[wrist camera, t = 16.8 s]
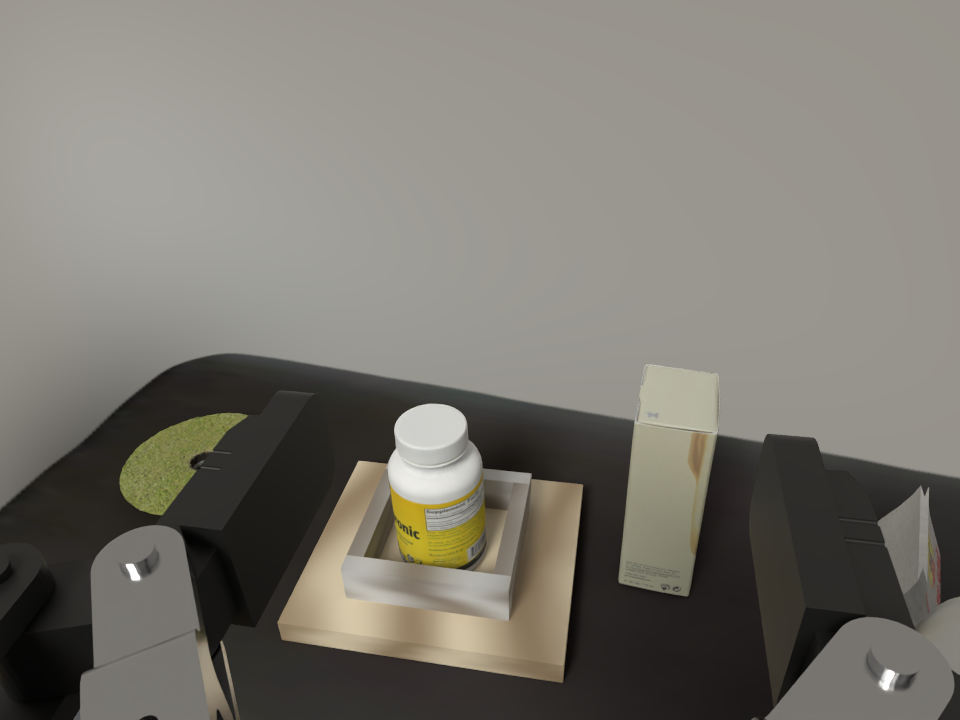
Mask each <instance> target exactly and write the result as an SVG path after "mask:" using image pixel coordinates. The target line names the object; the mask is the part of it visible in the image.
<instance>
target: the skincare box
mask: <svg viewBox="0 0 960 720" xmlns="http://www.w3.org/2000/svg"><path fill="white" fill-rule="evenodd" d="M719 418H720V388H719V375H718V374H716V373H708V372H701V371H693V370H687V369H679V368H672V367H665V366H658V365H651V364H648V365H645V367H644V372H643V377H642V382H641V387H640V393H639V399H638V405H637V411H636V417H635V423H634V432H633V441H632V450H631V460H630V470H629V480H628V490H627V500H626V510H625V520H624V530H623V541H622V549H621V559H620V568H619V578H618V582H619V583H621V584H626V585H630V586H635V587H639V588H644V589H648V590H653V591H658V592H663V593H669V594H674V595H680V596H688V595H689V592H690V587H691V582H692V576H693V569H694V563H695V557H696V552H697V546H698V540H699V535H700V529H701V523H702V517H703V512H704V506H705V500H706V494H707V489H708V483H709V477H710V472H711V466H712V461H713V455H714V450H715V444H716V440H717V435H718V428H719Z"/></svg>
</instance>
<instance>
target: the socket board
mask: <svg viewBox="0 0 960 720" xmlns="http://www.w3.org/2000/svg"><path fill="white" fill-rule="evenodd" d="M388 464H389V462H388ZM388 464H384V463H374V462H365V461H359V462H358V464H357V466H356V468H355V470H354V472H353V474H352V476H351V478H350V479H349V481H348V483H347V485H346V487H345V489H344V491H343V493H342V495H341V497H340V499H339V501H338V503H337V505H336V507H335V509H334V511H333V513H332V515H331V517H330V519H329V521H328V523H327V525H326V527H325V529H324V531H323V533H322V535H321V537H320V539H319V541H318V543H317V545H316V547H315V549H314V551H313V553H312V555H311V557H310V559H309V561H308V563H307V565H306V567H305V569H304V571H303V573H302V575H301V577H300V579H299V581H298V583H297V585H296V587H295V589H294V591H293V593H292V595H291V597H290V599H289V601H288V603H287V605H286V607H285V609H284V611H283V613H282V615H281V617H280V619H279V621H278V627H279V630H280V634H281V637H282V640H287V641H293V642H300V643H306V644H313V645H319V646H326V647H332V648H339V649H345V650H352V651H358V652H365V653H371V654H378V655H384V656H391V657H397V658H404V659H410V660H417V661H423V662H430V663H436V664H443V665H449V666H456V667H462V668H469V669H475V670H482V671H488V672H495V673H501V674H508V675H514V676H521V677H527V678H534V679H540V680H547V681H553V682H560V683H563V678H564V669H565V659H566V649H567V640H568V630H569V621H570V611H571V602H572V592H573V582H574V573H575V563H576V554H577V544H578V535H579V525H580V515H581V506H582V493H583V485H582V484H573V483H563V482H554V481H544V480H535V479H531V478H532V474H530V473H521V472H511V471H502V470H492V469H483V483H484V503H485V520H486V539H487V543H486V551H485V554H484V557H483V558H482V560H481V562H480V563H479V564H478V565H477V566H476V567H475V568H474V569H473V570H472V571H467V570H459V569H451V568H444V567H436V566H428V565H420V564H413V563H405V562H403V561H402V558H401V555H400V551H399V546H398V539H397V532H396V525H395V519H394V512H393V505H392V498H391V492H390V486H389V478H388Z"/></svg>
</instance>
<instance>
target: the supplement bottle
mask: <svg viewBox="0 0 960 720" xmlns="http://www.w3.org/2000/svg"><path fill="white" fill-rule="evenodd" d="M394 432H395V440H396V450H395V451H394V452H393V454H392V456H391V458H390V460H389V464H388V478H389V486H390V492H391V498H392V505H393V512H394V519H395V525H396V532H397V539H398V546H399V551H400V555H401V558H402V561H403V562H405V563H413V564H420V565H428V566H436V567H444V568H451V569H459V570H467V571H472V570H473V569H474V568H475V567H476V566H477V565H478V564H479V563H480V562H481V560H482V558H483V557H484V554H485V551H486V543H487V539H486V520H485V503H484V483H483V466H482V459H481V456H480V453H479V451H478V449H477V448H476V447H475V445H474V444H473V443H472V442H471V441H469V440H468V428H467V421H466V418H465V417H464V415H463V414H462V413H461V412H460V411H459V410H457V409H455V408H453V407H451V406H447V405H442V404H426V405H421V406H417V407H415V408H412V409H410V410H408V411H406V412H405V413H404V414H403V415H401V416H400V418H399V419H398V420H397V422H396V424H395V429H394Z"/></svg>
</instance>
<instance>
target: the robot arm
mask: <svg viewBox="0 0 960 720" xmlns="http://www.w3.org/2000/svg"><path fill="white" fill-rule="evenodd" d="M334 466H335V460H334V452H333V447H332V442H331V437H330V432H329V427H328V422H327V417H326V413H325V408H324V403H323V400H322V398H321V396H320V395H319V394H314V393H303V392H291V391H279V392H277V393H276V394H275V395H274V396H273V398H272V399H271V400H270V402H269V403H268V404H267V406H266V407H265V408H264V410H263V411H262V413H261V414H260V415H252V414H250V415H249V416H248V417H246V418H245V419H243V420H242V421H240V422H239V423H237V424H236V425H235V426H233V427H232V428H230V429H229V430H228V431H227V432H226V433H225V434H224V436H223V437H222V438H221V440H220V441H219V442H218V443H217V445H216V446H215V447H214V449H213V453H210V454H209V455H208V456H207V458H206V459H205V460H204V462H203V463H202V464H201V469H197V471H196V472H195V473H194V475H193V476H192V477H191V478H190V480H189V481H188V482H187V484H186V485H185V486H184V488H183V489H182V490H181V491H180V493H179V494H178V495H177V497H176V498H175V499H174V500H173V502H172V503H171V504H170V506H169V507H168V508H167V510H166V511H165V512H164V513H163V515H162V516H161V517H160V519H159V520H158V521H157V522H156V524H155V525H153V526H145V527H140V528H137V529H134V530H131V531H129V532H126V533H124V534H122V535H120V536H119V537H117V538H116V539H114V540H112V541H111V542H110V543H109V544H107V545H106V546H105V547H104V548H103V549H102V550H101V551H100V553H99V554H98V555H97V557H96V558H92V559H85V560H78V561H71V562H64V563H56V564H49V565H47V564H46V562H45V560H44V558H43V556H42V555H41V553H40V551H39V550H38V549H37V548H36V547H34V546H33V545H30V544H26V543H9V544H4V545H0V720H73V719H74V717H75V716H76V714H77V712H78V711H79V709H80V716H81V720H240V717H239V713H238V708H237V703H236V698H235V694H234V689H233V684H232V680H231V675H230V670H229V666H228V661H227V656H226V652H225V648H224V645H223V642H222V639H223V637H224V635H225V633H226V632H227V630H228V628H229V626H230V625H231V624H233V625H240V626H246V627H253V628H255V626H256V624H257V623H258V621H259V619H260V617H261V615H262V613H263V611H264V610H265V608H266V606H267V604H268V602H269V600H270V598H271V596H272V595H273V593H274V591H275V589H276V587H277V585H278V583H279V581H280V580H281V578H282V576H283V574H284V572H285V570H286V568H287V566H288V565H289V563H290V561H291V559H292V557H293V555H294V553H295V551H296V550H297V548H298V546H299V544H300V542H301V540H302V538H303V536H304V535H305V533H306V531H307V529H308V527H309V525H310V523H311V521H312V520H313V518H314V516H315V514H316V512H317V510H318V508H319V507H320V505H321V503H322V501H323V499H324V497H325V495H326V493H327V492H328V490H329V488H330V485H331V482H332V479H333V474H334ZM749 532H750V541H751V548H752V555H753V563H754V570H755V577H756V584H757V591H758V598H759V605H760V613H761V620H762V627H763V634H764V641H765V648H766V656H767V663H768V670H769V677H770V684H771V691H772V699H773V706H774V709H773V710H772V711H771V712H770V714H769V715H768V716H767V717H765V718H764V719H763V720H960V675H959V674H957V673H956V672H954V671H953V670H951V668H950V666H949V664H948V662H947V660H946V659H945V657H944V656H943V655H942V653H941V652H940V651H939V650H938V649H937V648H936V646H935V645H934V644H933V643H931V642H930V641H929V640H928V639H927V638H925V637H924V636H923V635H921V634H920V633H918V632H917V631H916V629H915V627H914V625H913V622H912V619H911V616H910V613H909V610H908V607H907V604H906V601H905V598H904V596H903V593H902V590H901V587H900V584H899V581H898V578H897V575H896V572H895V569H894V566H893V563H892V560H891V557H890V554H889V552H888V549H887V547H885V540H884V537H883V534H882V531H881V528H880V526H878V519H877V516H876V513H875V511H874V508H873V505H872V502H871V499H870V496H869V494H868V493H867V492H866V491H865V490H864V489H863V488H862V487H861V486H860V484H859V483H858V482H857V481H856V480H855V479H854V478H853V477H852V476H851V475H850V473H849V472H846V471H835V470H825V468H824V464H823V461H822V457H821V454H820V450H819V447H818V444H817V441H816V439H815V438H810V437H798V436H786V435H774V434H767V436H766V437H765V440H764V443H763V448H762V452H761V457H760V461H759V466H758V471H757V475H756V480H755V484H754V489H753V494H752V498H751V504H750V515H749ZM751 720H762V719H761V718H760V717H754V718H753V719H751Z"/></svg>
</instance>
